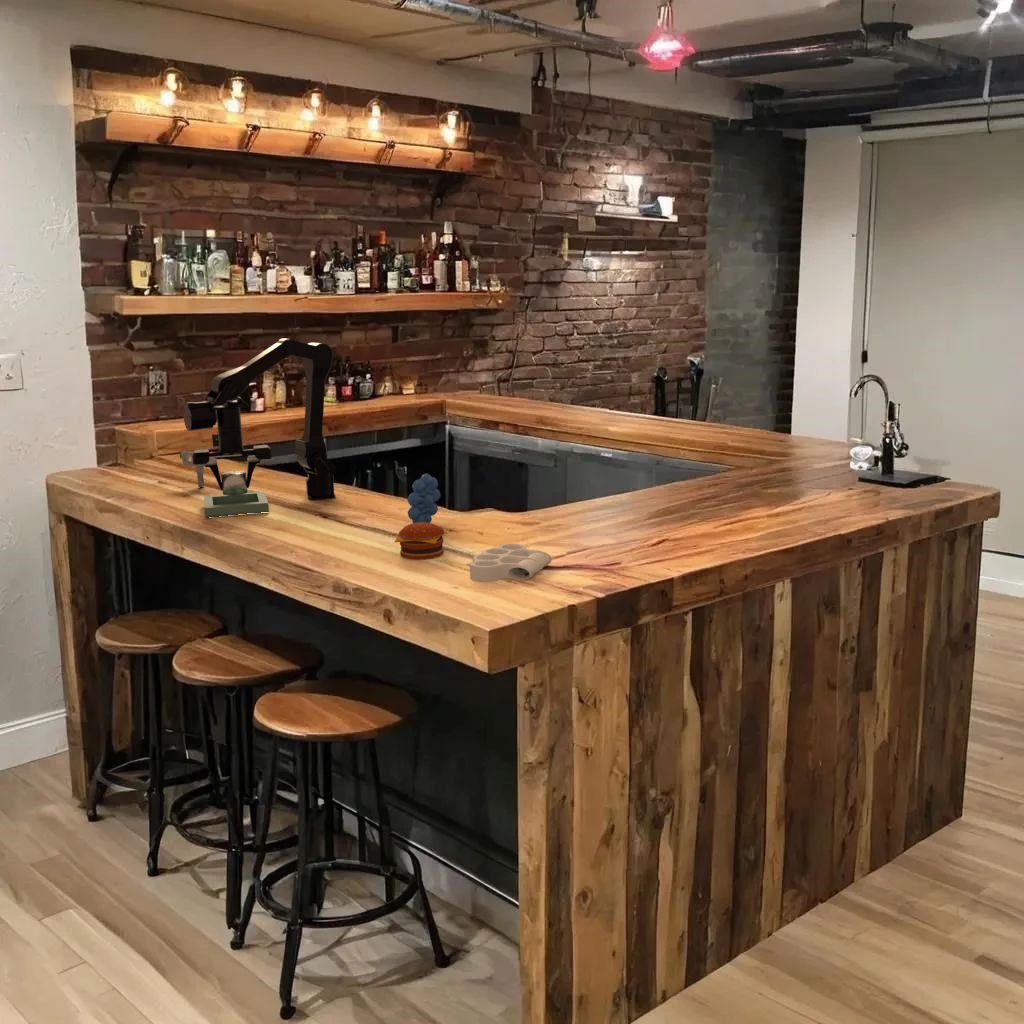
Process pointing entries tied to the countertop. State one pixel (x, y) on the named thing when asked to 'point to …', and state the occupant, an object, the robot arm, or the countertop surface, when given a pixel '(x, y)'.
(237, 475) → the silver rounded cylinder
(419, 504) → the grapes
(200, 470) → the mechanical component
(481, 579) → the multi-hole tube bracket
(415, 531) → the hamburger
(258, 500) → the socket frame
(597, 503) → the countertop surface
